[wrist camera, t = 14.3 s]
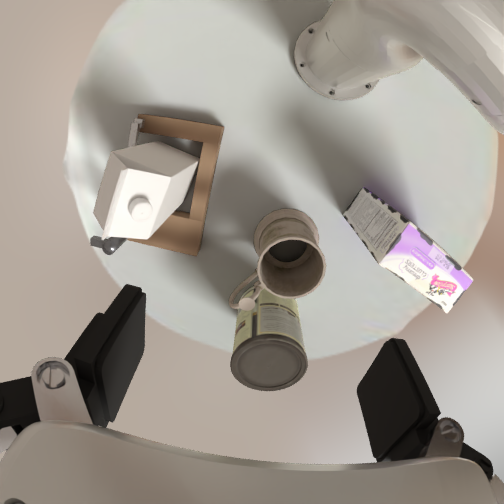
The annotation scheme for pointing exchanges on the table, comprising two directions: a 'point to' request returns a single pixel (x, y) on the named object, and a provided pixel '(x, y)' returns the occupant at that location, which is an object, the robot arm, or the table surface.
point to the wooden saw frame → (192, 224)
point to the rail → (135, 131)
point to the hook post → (108, 243)
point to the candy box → (407, 250)
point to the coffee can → (268, 343)
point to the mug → (284, 273)
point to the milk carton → (142, 189)
